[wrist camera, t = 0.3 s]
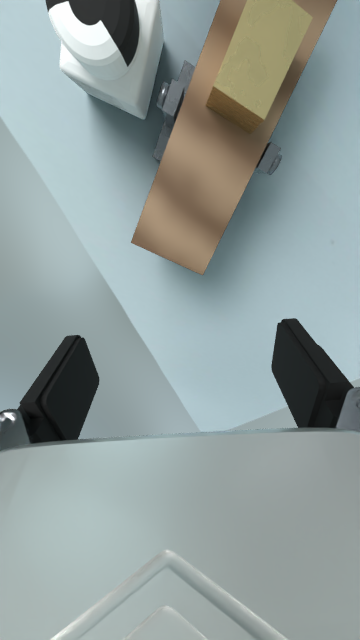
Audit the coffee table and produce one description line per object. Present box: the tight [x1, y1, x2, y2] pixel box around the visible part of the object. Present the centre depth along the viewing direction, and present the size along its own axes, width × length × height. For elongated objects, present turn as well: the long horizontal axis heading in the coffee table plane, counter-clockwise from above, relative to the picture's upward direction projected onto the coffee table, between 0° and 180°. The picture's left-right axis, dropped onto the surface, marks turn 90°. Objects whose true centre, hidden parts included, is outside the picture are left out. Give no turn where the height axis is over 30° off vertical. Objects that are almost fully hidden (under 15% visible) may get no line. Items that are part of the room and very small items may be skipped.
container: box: [46, 0, 164, 119], centre depth 23 cm, size 8×8×13 cm
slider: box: [206, 0, 313, 134], centre depth 20 cm, size 7×5×4 cm
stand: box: [152, 61, 282, 175], centre depth 30 cm, size 19×14×10 cm
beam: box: [131, 0, 337, 275], centre depth 24 cm, size 28×9×2 cm, turn 154°
